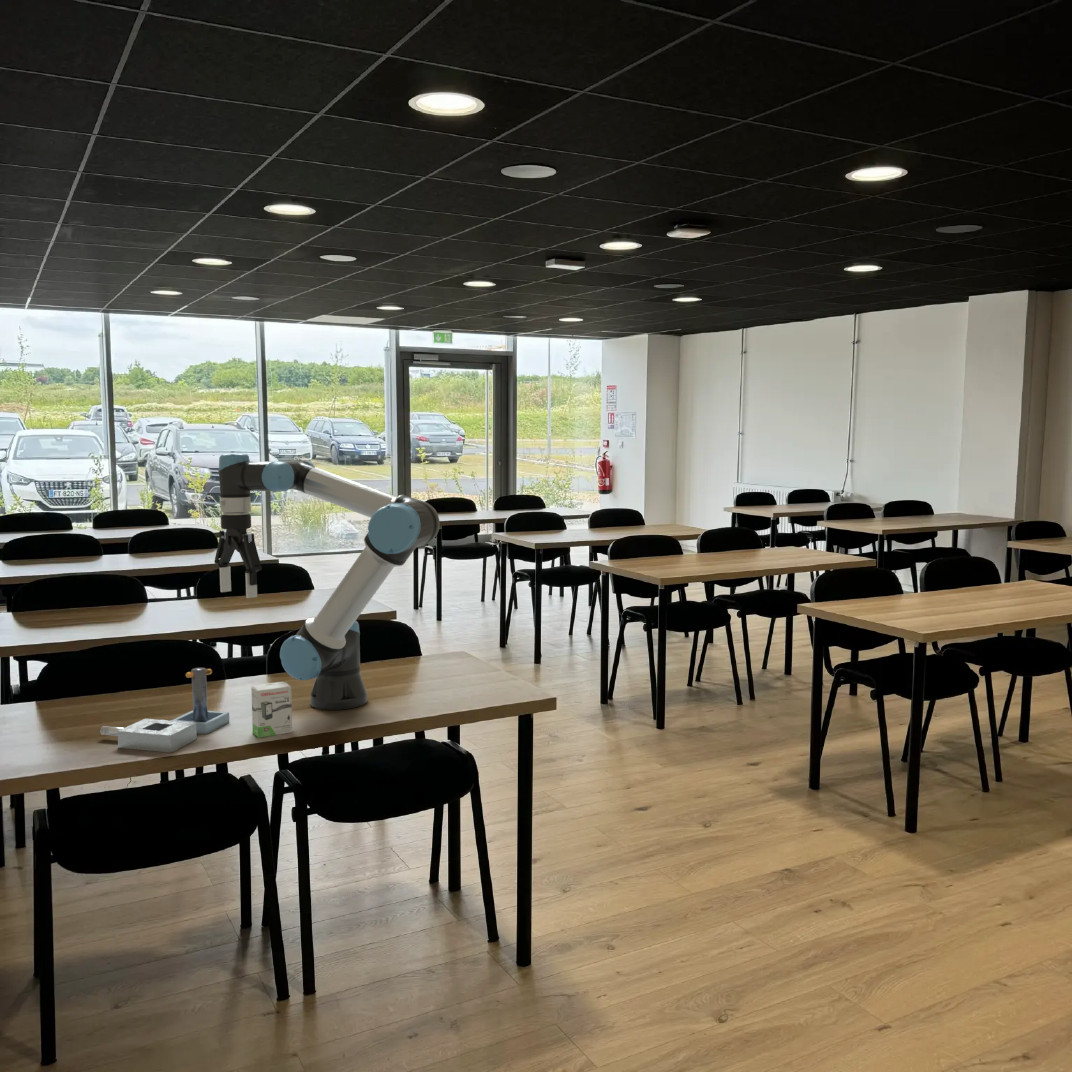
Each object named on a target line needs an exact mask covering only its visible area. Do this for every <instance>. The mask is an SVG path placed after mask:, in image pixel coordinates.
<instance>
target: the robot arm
mask: <svg viewBox="0 0 1072 1072" xmlns="http://www.w3.org/2000/svg"><path fill="white" fill-rule="evenodd" d="M218 459H219V460H218V470H217V471H218V479H219V480H218V481H219V497H220V498H219V500H220V501H219V503H218V504H219V505H220V506H219V507H220V512H221V513H222V514H221V515H220V528H221V529H222V530H219V532H218V535H219V536H218V544H217V547H216V552H215V558H214V565H217V567H218V568H219V586H220V587H219V589H220V593H227V592H232V580H231V579H232V578H231V577H232V576H231V565H232V564H230V562H231V560H232V558H233V555H234V552H235V551H236V552H238V553H239V555H240V558H241V560H242V562H243V564H244V568H245V569H246V570H245V572H244V574H245V575H244V576H245V598H246V599H253V598H257V597H258V579H257V578H258V577H257V576H258V575H257V573H258V572H259V571H262V569H263V568H262V564H261V560H260V556H259V553H258V549H257V545H256V541H255V534H254V533H252V532H251V533H248V529H251V528H252V515H251V514H250V512H251V511H252V508H251V506H252V505H251V503H252V500H251V499H252V498H251V492H254V491H255V492H256V491H257V492H272V493H277V492H280V493H281V492H287V491H289V490H295V491H298V492H301V493H304V494H307V495H309V496H313V497H314V498H318V499H320V500H322V501H325V502H328V503H330V504H334V505H335V506H339V507H341V508H344V509H347V510H349V511H352V512H354V513H357V514H360V515H363V516H365V517H367V518H370V519H369V522H368V524H367V525H368V526H367V530H368V532H367V533H366V535H365V536H364V538H363V541H364V542H363V543H364V545H365V546H364V548H363V550H362V551H361V552H360V554H359V555H358V557H356V558H357V559H356V560H355V561H354V563H353V564H352V565H351V567H350V569H349V570H348V571H347V573H346V574H345V575H344V576H343V578H342V580H341V581H340V582H339V584H338V585H337V587H336V588H335V590H334V591H333V593H332V594H331V595H330V597H329V598H328V599H327V601H326V602H325V604H324V605H323V606H322V607H321V609H320V611H319V612H318V614H316V616H311V617H308V618H307V619H306V620H305V622H304V623H303V624H302V626H301V627H300V628H299V630H298V631H297V632H296V634H295V635H291V636H290V637H288V638H287V639H285V640H284V641H283V643H282V645H281V647H280V651H279V658H280V662H281V666H282V668H283V670H284V671H285V672H286V673H287V674H288V675H289V676H290V677H291V678H293V679H295V680H297V681H298V680H299V681H309V680H313V679H314V682H313V685H312V689H311V693H310V697H309V698H310V701H309V703H310V706H311V707H313V708H315V709H318V710H319V709H320V710H325V711H326V710H327V711H328V710H329V711H339V710H350V709H354V708H358V707H361V706H364V705H365V704H367V702H368V692H367V689H366V686H365V683H364V680H363V678H362V674H361V651H360V650H361V646H360V645H361V644H360V635H361V632H360V624H359V622H358V621H357V619H358V618H359V616H360V615H361V613H362V612H363V611H364V609H365V608H366V607H367V606H368V604H369V602H370V601H371V599H372V598H373V597H374V595H376V593H377V592H378V590H379V588H380V587H381V586H382V584H383V583H384V582H385V581H386V579H387V577H388V576H389V575H390V574H391V572H392V571H393V570H394V568H396V567H402V566H403V565H404V564H405V563H406V562H407V561H408V559H409V558H410V556H411V555H412V554H413V553H414V551H415V550H416V549H417V548H418V547H419V548H420V547H422V546H423V547H424V546H426V545H428V544H429V543H431V542H432V541H434V539H435V538H436V536H437V535H438V533H439V531H440V524H441V523H440V518H439V514H438V512H437V510H436V509H435V508H434V507H433V505H431V504H430V503H428V502H426V501H423V500H421V499H417V498H414V497H410V496H408V495H406V494H400V495H398V496H396V495H393V494H391V493H388V492H386V491H382V490H380V489H377V488H375V487H371V486H369V485H366V484H363V483H361V482H358V481H354V480H352V479H350V478H347V477H345V476H341V475H338V474H335V473H333V472H330V471H327V470H324V469H322V468H319V467H316V466H315V465H314V464H313V463H312V462H311V461H309V460H305V459H304V460H303V459H295V460H283V461H282V460H281V461H279V460H278V461H277V460H276V461H250V456H249V455H248V454H247V453H223V454H221V455H220V456H219V458H218Z"/></svg>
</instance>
